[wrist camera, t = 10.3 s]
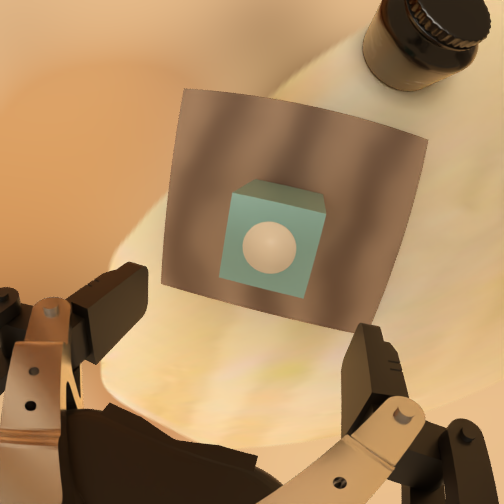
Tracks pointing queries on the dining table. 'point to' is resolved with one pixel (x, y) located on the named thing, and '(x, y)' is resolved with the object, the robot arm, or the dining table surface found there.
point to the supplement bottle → (424, 40)
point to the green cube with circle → (272, 237)
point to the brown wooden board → (298, 176)
